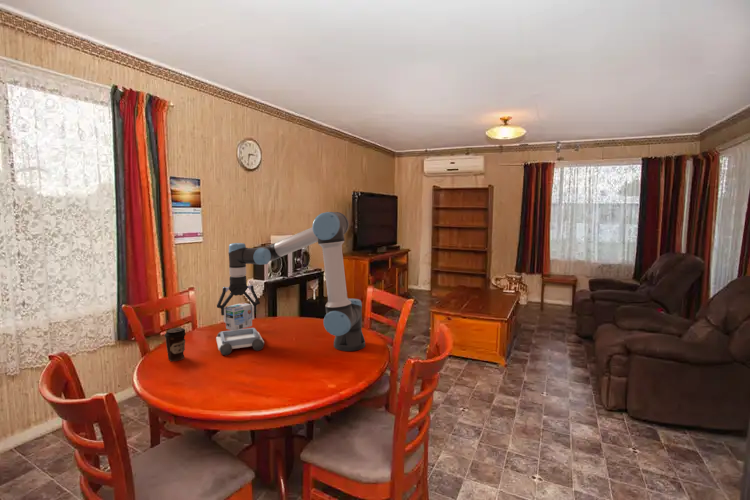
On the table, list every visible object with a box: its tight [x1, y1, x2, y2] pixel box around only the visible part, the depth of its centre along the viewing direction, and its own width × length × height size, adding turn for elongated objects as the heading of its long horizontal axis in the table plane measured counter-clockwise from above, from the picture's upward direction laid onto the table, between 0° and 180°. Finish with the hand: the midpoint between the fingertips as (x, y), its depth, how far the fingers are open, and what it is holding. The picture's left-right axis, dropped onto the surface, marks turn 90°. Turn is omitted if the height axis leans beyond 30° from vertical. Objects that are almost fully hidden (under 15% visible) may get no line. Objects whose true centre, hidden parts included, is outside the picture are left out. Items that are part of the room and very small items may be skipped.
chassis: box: [215, 327, 265, 356], centre depth 187 cm, size 21×20×6 cm
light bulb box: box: [224, 302, 253, 331], centre depth 186 cm, size 11×7×11 cm, turn 148°
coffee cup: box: [164, 327, 186, 362], centre depth 170 cm, size 9×8×13 cm
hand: (239, 320), depth 186 cm, fingers closed on light bulb box, 12 cm apart
